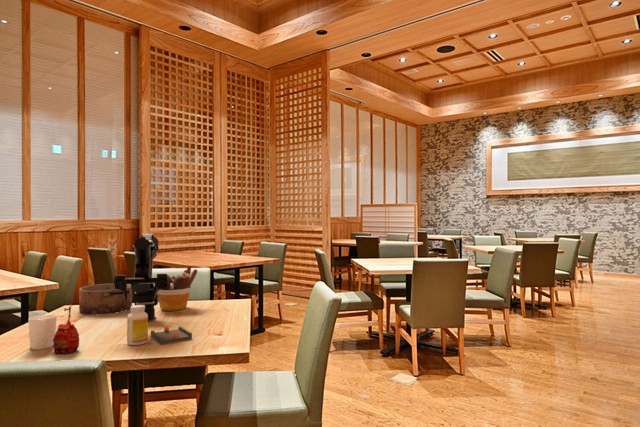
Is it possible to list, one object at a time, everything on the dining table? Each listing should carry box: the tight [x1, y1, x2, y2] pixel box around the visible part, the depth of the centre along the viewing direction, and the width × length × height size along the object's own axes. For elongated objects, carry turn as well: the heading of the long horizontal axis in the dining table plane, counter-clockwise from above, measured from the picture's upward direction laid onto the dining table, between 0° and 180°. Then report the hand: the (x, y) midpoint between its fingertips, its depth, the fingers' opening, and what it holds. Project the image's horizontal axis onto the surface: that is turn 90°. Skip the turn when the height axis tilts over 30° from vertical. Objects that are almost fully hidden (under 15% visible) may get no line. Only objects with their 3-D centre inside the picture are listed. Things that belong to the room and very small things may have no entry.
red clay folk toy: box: [52, 303, 80, 355], centre depth 136 cm, size 8×7×15 cm
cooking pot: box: [78, 283, 133, 316], centre depth 199 cm, size 30×22×11 cm
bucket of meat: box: [154, 265, 198, 312], centre depth 201 cm, size 20×16×20 cm
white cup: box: [28, 313, 57, 351], centre depth 141 cm, size 8×8×10 cm
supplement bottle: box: [126, 304, 149, 346], centre depth 146 cm, size 7×7×13 cm
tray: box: [150, 325, 193, 345], centre depth 152 cm, size 12×11×3 cm
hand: (140, 299), depth 153 cm, fingers open, 9 cm apart
